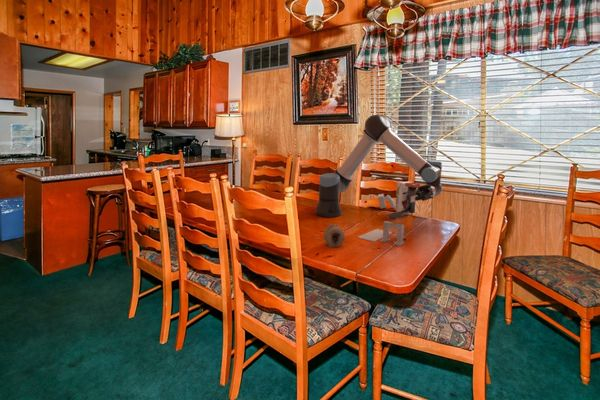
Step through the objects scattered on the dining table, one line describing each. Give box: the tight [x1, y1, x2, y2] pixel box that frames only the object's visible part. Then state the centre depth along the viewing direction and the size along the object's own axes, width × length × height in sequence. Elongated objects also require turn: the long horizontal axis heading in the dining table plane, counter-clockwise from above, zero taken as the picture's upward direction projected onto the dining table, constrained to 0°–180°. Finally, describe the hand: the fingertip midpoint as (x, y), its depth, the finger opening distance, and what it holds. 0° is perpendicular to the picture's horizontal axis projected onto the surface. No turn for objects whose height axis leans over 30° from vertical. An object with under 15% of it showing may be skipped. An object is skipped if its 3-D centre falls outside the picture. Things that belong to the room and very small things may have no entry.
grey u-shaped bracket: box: [380, 220, 405, 247], centre depth 171 cm, size 9×5×9 cm, turn 50°
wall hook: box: [377, 193, 396, 210], centre depth 239 cm, size 8×10×10 cm
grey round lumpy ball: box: [323, 223, 346, 248], centre depth 167 cm, size 9×8×10 cm
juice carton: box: [395, 181, 413, 216], centre depth 225 cm, size 8×9×19 cm
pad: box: [357, 228, 394, 243], centre depth 182 cm, size 9×18×1 cm, turn 140°
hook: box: [389, 182, 421, 221], centre depth 180 cm, size 7×24×14 cm, turn 141°
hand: (406, 198), depth 182 cm, fingers closed on hook, 4 cm apart
